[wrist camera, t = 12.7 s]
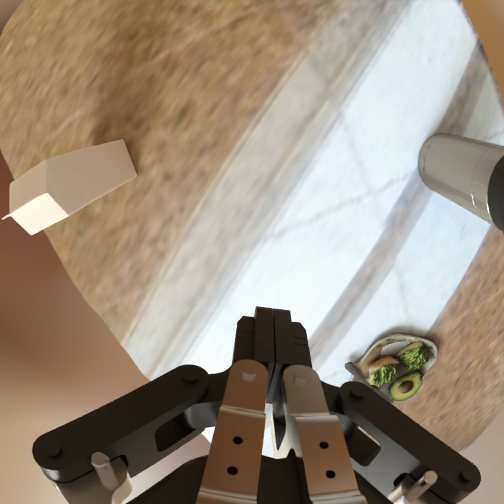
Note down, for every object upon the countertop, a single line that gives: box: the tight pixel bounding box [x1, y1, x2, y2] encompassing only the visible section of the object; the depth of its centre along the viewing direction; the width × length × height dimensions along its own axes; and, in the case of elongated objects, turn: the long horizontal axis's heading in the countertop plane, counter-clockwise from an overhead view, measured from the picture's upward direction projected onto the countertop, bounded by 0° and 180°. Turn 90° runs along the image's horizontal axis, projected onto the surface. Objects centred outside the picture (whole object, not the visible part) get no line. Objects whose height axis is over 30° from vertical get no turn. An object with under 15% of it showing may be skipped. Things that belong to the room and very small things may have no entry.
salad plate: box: [345, 333, 438, 403], centre depth 55 cm, size 19×18×5 cm
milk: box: [2, 139, 137, 235], centre depth 33 cm, size 6×6×22 cm
